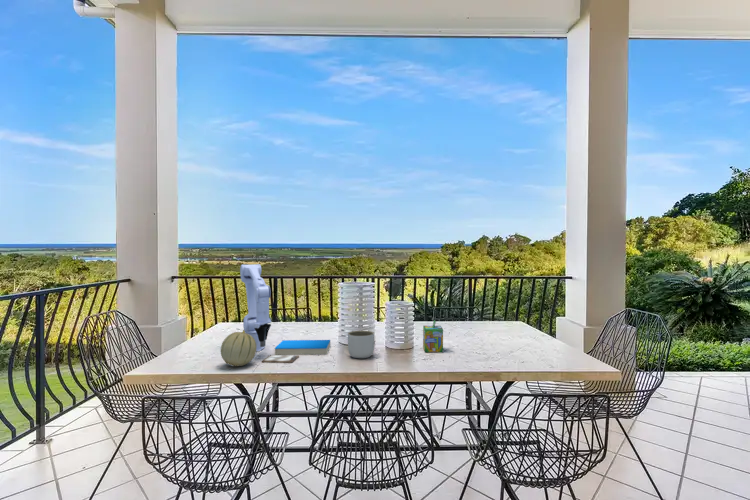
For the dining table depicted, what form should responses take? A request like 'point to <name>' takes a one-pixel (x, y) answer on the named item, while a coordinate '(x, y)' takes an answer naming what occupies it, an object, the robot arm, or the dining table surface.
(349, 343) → the planter
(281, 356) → the clipboard
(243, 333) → the cantaloupe
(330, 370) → the dining table surface
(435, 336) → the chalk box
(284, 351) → the book
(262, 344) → the marker
